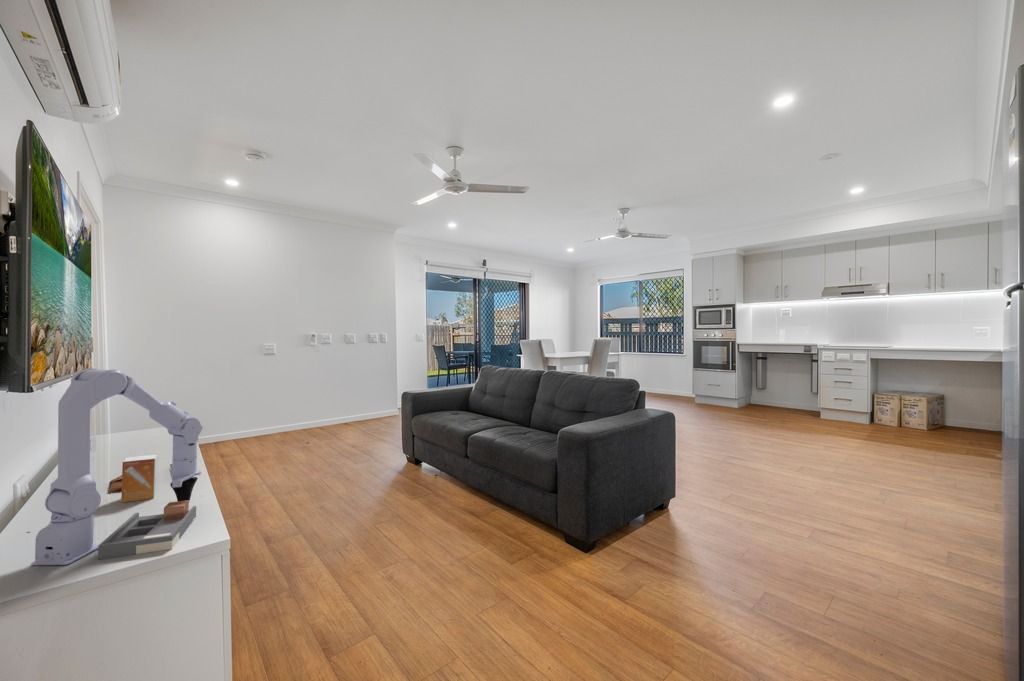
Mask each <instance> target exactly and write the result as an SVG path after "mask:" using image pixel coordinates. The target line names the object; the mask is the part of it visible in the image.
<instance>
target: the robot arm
mask: <svg viewBox="0 0 1024 681" xmlns="http://www.w3.org/2000/svg"><path fill="white" fill-rule="evenodd" d="M117 395H119V396H124V397H125V398H126V399H129V400H130V401H132V402H134V403H135V404H137V405H139V406H140V407H142V408H143V409H146V410H147V411H149V413H148V415H149V419H151V420H153V421H155V422H157V423H158V424H159V425H161V426H163V427H164V428H165V429H166V430H167V433H168V434H169V435H171V436H172V461H171V462H172V466H171V467H172V468H171V471H172V472H171V475H170V476H171V477H170V478H171V481H172V482H171V483H170V487H171V489H172V490H173V491H174V494H175V497H176V500H177V501H186V500H189V502H190V500H191V496H192V494H193V490H194V487H195V485H196V483H197V480H198V477H197V476H200V475H201V474H202V471H201V470H197V466H198V465H197V464H198V463H197V460H198V459H197V458H198V441H199V436H200V434H201V432H202V431H203V428H204V427H203V425H202V424H201V422H200V420H199V419H198V418H195V417H190V415H189V412H186V411H183V410H181V409H180V408H179V407H177V402H174V401H169V400H163V401H160V400H159V399H158V398H157V397H156V396H154V395H153V394H151V392H149V391H148V390H146V389H145V388H144V387H143V386H141V385H140V384H139V383H137V381H136V380H134V378H133V377H131V376H129V375H126V374H125V372H123V371H121V370H118V369H97V368H88V369H87V368H86V369H84V370H82V371H80V372H79V373H77V374H76V375H74V376H72V377H71V378H70V385H69V386H68V387H67V389H66V390H65V391H64V393H63V395H62V396H61V398H60V400H59V401H58V404H57V405H58V406H57V407H58V409H57V413H58V414H57V418H58V422H57V423H58V424H57V427H58V429H57V431H58V432H57V434H58V435H57V477H56V479H55V480H54V481H52V482H51V484H50V489H49V493H48V495H47V496H46V498H45V500H44V506H45V508H46V510H47V511H48V512H50V513H51V515H50V521H49V523H48V525H47V526H45V527H43V528H42V529H40V530H39V531H38V532H37V534H36V537H35V548H34V549H35V551H34V552H35V553H34V554H35V555H34V558H35V559H34V561H33V562H31V563H30V565H31V566H65V565H70V564H71V563H73V562H75V561H78V560H80V559H82V558H83V557H85V556H87V555H89V554H91V553H93V552H95V551H97V550H98V546H99V545H100V544H101V543H94V526H95V525H94V523H95V522H94V521H95V520H94V519H95V515H94V514H95V512H96V511H97V509H98V508H99V507H100V505H101V502H102V501H101V499H102V497H101V494H100V493H99V491H98V490H97V483H96V481H95V480H94V478H93V477H92V475H91V409H93V408H94V407H95V406H97V405H98V404H99V403H101V402H102V401H104V400H106V399H109V398H111V397H114V396H117ZM177 501H176V502H177Z"/></svg>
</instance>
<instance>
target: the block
mask: <svg viewBox="0 0 1024 681" xmlns="http://www.w3.org/2000/svg"><path fill="white" fill-rule="evenodd" d="M189 508H190V501H189V500H186V501H171V502H170V501H169V502H168V503H167V504H166V505H165V506H164V507H163V514H164V521H167V520H175V519H183V518H184V517H185V515H186V514H187V513H188V512H189V511H190V510H189Z"/></svg>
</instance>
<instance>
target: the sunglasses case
mask: <svg viewBox="0 0 1024 681" xmlns="http://www.w3.org/2000/svg"><path fill="white" fill-rule="evenodd" d="M109 482H110V488H109V489H108V491H107V492H108V494H109V495H111V493H112V494H117V492H118V493H122V474H121V475H119V476H117V477H116V478H114V479H111V480H110V481H109ZM108 494H107V495H108Z"/></svg>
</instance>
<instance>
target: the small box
mask: <svg viewBox="0 0 1024 681" xmlns="http://www.w3.org/2000/svg"><path fill="white" fill-rule="evenodd" d="M158 456H159V455H158V454H150V455H137V456H129V457H125V459H124V460H123V461H122V466H121V468H122V469H121V470H122V472H121V475H122V492H121V498H120V500H121V501H120V502H121V503H127V502H135V501H142V500H143V501H145V500H153V499H154V498H155V497H156V494H157V490H158V489H157V488H158V486H157V485H158V483H157V482H158ZM152 498H153V499H152Z"/></svg>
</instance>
